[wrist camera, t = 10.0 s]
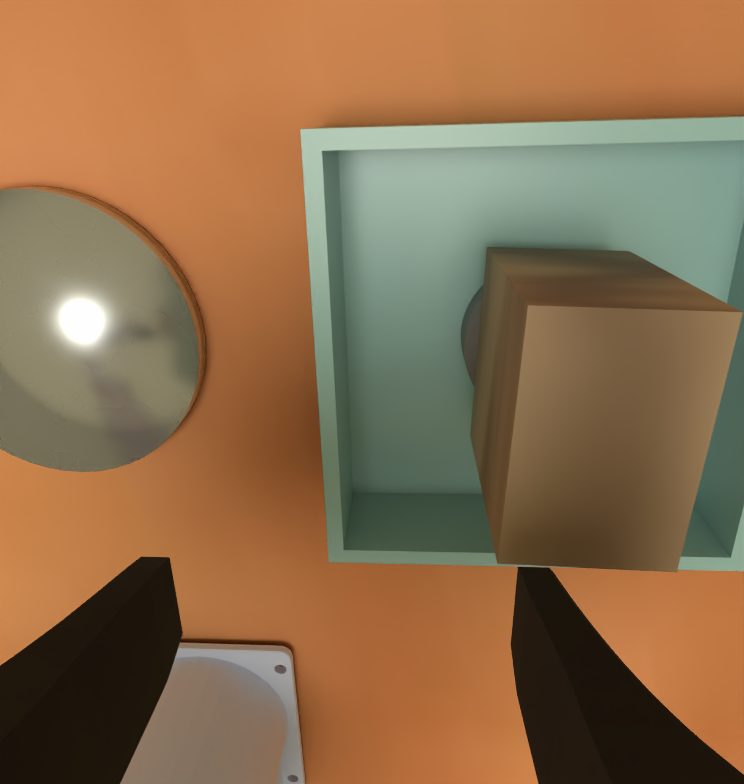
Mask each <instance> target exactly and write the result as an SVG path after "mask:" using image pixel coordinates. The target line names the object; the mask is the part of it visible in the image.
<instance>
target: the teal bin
mask: <svg viewBox="0 0 744 784" xmlns="http://www.w3.org/2000/svg"><path fill="white" fill-rule="evenodd" d="M300 132H301V147H302V162H303V178H304V193H305V208H306V223H307V238H308V253H309V269H310V284H311V299H312V314H313V329H314V344H315V360H316V375H317V390H318V405H319V420H320V435H321V451H322V466H323V481H324V496H325V511H326V526H327V542H328V557H329V562H334V563H381V564H429V565H477V566H524V567H557V566H536V565H515V564H497V560H496V555H495V550H494V546H493V541H492V536H491V531H490V527H489V522H488V517H487V513H486V508H485V503H484V498H483V494H482V489H481V484H480V480H479V475H478V470H477V465H476V461H475V456H474V451H473V447H472V442H471V437H470V431H471V420H472V409H473V398H474V385H473V384H472V382H471V379H470V377H469V375H468V371H467V368H466V364H465V360H464V356H463V352H462V347H461V327H462V321H463V318H464V314H465V312H466V309H467V307H468V305H469V303H470V301H471V300H472V298H473V296H474V295H475V294H476V292H477V291H478V290H479V289H480V288H481V287H482V286H483V285H484V275H485V264H486V253H487V247H509V248H544V249H578V250H613V251H630V252H632V253H634V254H636V255H638V256H640V257H641V258H643V259H645V260H647V261H649V262H651V263H652V264H654V265H656V266H658V267H660V268H662V269H664V270H665V271H667V272H669V273H671V274H673V275H675V276H677V277H678V278H680V279H682V280H684V281H686V282H688V283H690V284H691V285H693V286H695V287H697V288H699V289H701V290H703V291H704V292H706V293H708V294H710V295H712V296H714V297H716V298H717V299H719V300H721V301H723V302H725V303H727V304H729V305H730V306H732V307H734V308H736V309H738V310H740V311H742V312H743V314H742V318H741V322H740V326H739V330H738V334H737V338H736V342H735V345H734V349H733V353H732V357H731V361H730V365H729V369H728V373H727V377H726V381H725V385H724V389H723V393H722V397H721V400H720V404H719V408H718V412H717V416H716V420H715V424H714V428H713V432H712V436H711V440H710V444H709V448H708V452H707V456H706V459H705V463H704V467H703V471H702V475H701V479H700V483H699V487H698V491H697V495H696V499H695V503H694V507H693V511H692V514H691V518H690V522H689V526H688V530H687V534H686V538H685V542H684V546H683V550H682V554H681V558H680V562H679V566H678V569H677V570H715V571H744V115H737V116H701V117H665V118H629V119H593V120H557V121H521V122H485V123H449V124H413V125H377V126H341V127H318V128H307V129H300ZM572 568H578V567H572Z"/></svg>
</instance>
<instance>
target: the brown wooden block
mask: <svg viewBox="0 0 744 784" xmlns="http://www.w3.org/2000/svg"><path fill="white" fill-rule="evenodd" d="M742 314H743V312H742V311H740V310H738V309H736V308H734V307H732V306H730V305H729V304H727V303H725V302H723V301H721V300H719V299H717V298H716V297H714V296H712V295H710V294H708V293H706V292H704V291H703V290H701V289H699V288H697V287H695V286H693V285H691V284H690V283H688V282H686V281H684V280H682V279H680V278H678V277H677V276H675V275H673V274H671V273H669V272H667V271H665V270H664V269H662V268H660V267H658V266H656V265H654V264H652V263H651V262H649V261H647V260H645V259H643V258H641V257H640V256H638V255H636V254H634V253H632V252H630V251H613V250H578V249H544V248H509V247H487V253H486V264H485V275H484V285H483V286H482V287H481V288H480V289H479V290H478V291H477V292H476V294H475V295H474V296H473V298H472V300H471V301H470V303H469V305H468V307H467V309H466V312H465V314H464V318H463V321H462V327H461V347H462V352H463V356H464V360H465V364H466V368H467V371H468V375H469V377H470V379H471V382H472V384H473V385H474V398H473V409H472V420H471V431H470V437H471V442H472V447H473V451H474V456H475V461H476V465H477V470H478V475H479V480H480V484H481V489H482V494H483V498H484V503H485V508H486V513H487V517H488V522H489V527H490V531H491V536H492V541H493V546H494V550H495V555H496V560H497V564H515V565H536V566H557V567H578V568H599V569H620V570H641V571H662V572H677V569H678V566H679V562H680V558H681V554H682V550H683V546H684V542H685V538H686V534H687V530H688V526H689V522H690V518H691V514H692V511H693V507H694V503H695V499H696V495H697V491H698V487H699V483H700V479H701V475H702V471H703V467H704V463H705V459H706V456H707V452H708V448H709V444H710V440H711V436H712V432H713V428H714V424H715V420H716V416H717V412H718V408H719V404H720V400H721V397H722V393H723V389H724V385H725V381H726V377H727V373H728V369H729V365H730V361H731V357H732V353H733V349H734V345H735V342H736V338H737V334H738V330H739V326H740V322H741V318H742Z"/></svg>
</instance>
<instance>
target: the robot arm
mask: <svg viewBox="0 0 744 784" xmlns="http://www.w3.org/2000/svg"><path fill="white" fill-rule="evenodd" d="M182 634H183V632H182V627H181V621H180V615H179V609H178V604H177V598H176V592H175V586H174V581H173V575H172V569H171V563H170V558H169V557H140V558H139V559H138V560H136V561H135V562H134V563H132V564H131V565H130V566H129V567H127V568H126V569H125V570H124V571H122V572H121V573H120V574H119V575H118V576H116V577H115V578H114V579H113V580H112V581H110V582H109V583H108V584H107V585H105V586H104V587H103V588H102V589H101V590H99V591H98V592H97V593H96V594H95V595H93V596H92V597H91V598H90V599H88V600H87V601H86V602H85V603H83V604H82V605H81V606H80V607H78V608H77V609H76V610H75V611H73V612H72V613H71V614H70V615H68V616H67V617H66V618H65V619H63V620H62V621H61V622H60V623H58V624H57V625H56V626H54V627H53V628H52V629H50V630H49V631H48V632H46V633H45V634H43V635H42V636H41V637H39V638H38V639H37V640H35V641H34V642H33V643H31V644H30V645H29V646H27V647H26V648H25V649H23V650H22V651H21V652H19V653H18V654H16V655H15V656H14V657H12V658H11V659H9V660H8V661H6V662H5V663H4V664H2V665H1V666H0V784H306V783H305V773H304V763H303V753H302V744H301V734H300V724H299V714H298V704H297V694H296V685H295V675H294V665H293V655H292V652H291V651H290V650H289V649H288V648H287V647H285V646H275V645H243V644H210V643H180V640H181V637H182ZM511 650H512V658H513V667H514V675H515V682H516V690H517V696H518V700H519V704H520V709H521V713H522V717H523V721H524V725H525V730H526V734H527V738H528V742H529V746H530V750H531V754H532V759H533V763H534V767H535V771H536V775H537V779H538V783H539V784H744V775H743V774H742V773H741V772H740V771H738V770H737V769H736V768H735V767H733V766H732V765H731V764H730V763H729V762H727V761H726V760H725V759H724V758H722V757H721V756H720V755H719V754H718V753H716V752H715V751H714V750H713V749H711V748H710V747H709V746H708V745H707V744H705V743H704V742H703V741H702V740H701V739H700V738H698V737H697V736H696V735H695V734H694V733H693V732H692V731H690V730H689V729H688V728H687V727H686V726H685V725H684V724H683V723H682V722H681V721H680V720H679V719H677V718H676V717H675V716H674V715H673V714H672V713H671V712H670V711H669V710H668V709H667V708H666V707H665V706H664V705H663V704H662V703H661V702H660V701H659V700H658V699H657V698H656V697H655V696H654V695H653V694H652V693H651V692H650V691H649V690H648V689H647V688H646V687H645V686H644V685H643V684H642V682H641V681H640V680H639V679H638V678H637V677H636V676H635V675H634V674H633V673H632V672H631V670H630V669H629V668H628V667H627V666H626V665H625V664H624V663H623V662H622V660H621V659H620V658H619V657H618V656H617V655H616V654H615V652H614V651H613V650H612V649H611V648H610V646H609V645H608V644H607V643H606V641H605V640H604V639H603V638H602V637H601V635H600V634H599V633H598V632H597V631H596V629H595V628H594V627H593V626H592V624H591V623H590V622H589V621H588V619H587V618H586V617H585V615H584V614H583V613H582V611H581V610H580V609H579V607H578V606H577V605H576V603H575V602H574V601H573V599H572V598H571V597H570V595H569V594H568V592H567V591H566V590H565V588H564V587H563V585H562V584H561V583H560V581H559V580H558V578H557V577H556V575H555V574H554V573H553V572H552V571H551V569H550V568H540V567H518V573H517V584H516V595H515V605H514V616H513V627H512V638H511ZM279 665H283V666H284V667H282V666H279Z"/></svg>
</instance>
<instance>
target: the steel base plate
mask: <svg viewBox="0 0 744 784" xmlns="http://www.w3.org/2000/svg"><path fill="white" fill-rule="evenodd" d="M205 361H206V342H205V332H204V327H203V322H202V317H201V314H200V311H199V308H198V305H197V302H196V299H195V296H194V294H193V292H192V290H191V288H190V286H189V284H188V282H187V280H186V278H185V277H184V275H183V273H182V272H181V270H180V269H179V267H178V266H177V264H176V262H175V261H174V260H173V259H172V257H171V256H170V255H169V254H168V252H167V251H166V250H165V249H164V247H163V246H162V245H161V244H160V243H159V242H158V241H157V240H156V239H155V238H154V237H153V236H152V235H151V234H150V233H149V232H148V231H147V230H145V229H144V228H143V227H142V226H140V225H139V224H138V223H136V222H135V221H134V220H133V219H131V218H130V217H129V216H127V215H125V214H124V213H122V212H120V211H119V210H117V209H115V208H114V207H112V206H110V205H108V204H106V203H104V202H102V201H100V200H97V199H95V198H93V197H90V196H87V195H84V194H81V193H78V192H75V191H72V190H66V189H61V188H56V187H46V186H25V187H14V188H8V189H2V190H0V449H2V450H4V451H6V452H7V453H9V454H11V455H13V456H16V457H18V458H21V459H23V460H25V461H28V462H31V463H34V464H37V465H41V466H44V467H48V468H53V469H59V470H64V471H78V472H88V471H101V470H107V469H113V468H117V467H120V466H123V465H127V464H130V463H132V462H134V461H136V460H138V459H140V458H143V457H145V456H146V455H148V454H149V453H151V452H152V451H154V450H155V449H157V448H158V447H159V446H160V445H161V444H162V443H163V442H164V441H166V440H167V439H168V438H169V437H170V436H171V434H172V433H173V432H174V430H175V429H176V428H177V427H178V425H179V424H180V423H181V422H182V420H183V419H184V418H185V416H186V415H187V414H188V412H189V411H190V409H191V407H192V405H193V404H194V402H195V400H196V398H197V395H198V393H199V390H200V387H201V385H202V380H203V375H204V371H205Z"/></svg>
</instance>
